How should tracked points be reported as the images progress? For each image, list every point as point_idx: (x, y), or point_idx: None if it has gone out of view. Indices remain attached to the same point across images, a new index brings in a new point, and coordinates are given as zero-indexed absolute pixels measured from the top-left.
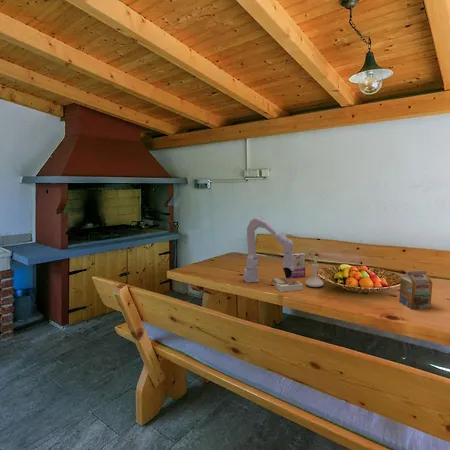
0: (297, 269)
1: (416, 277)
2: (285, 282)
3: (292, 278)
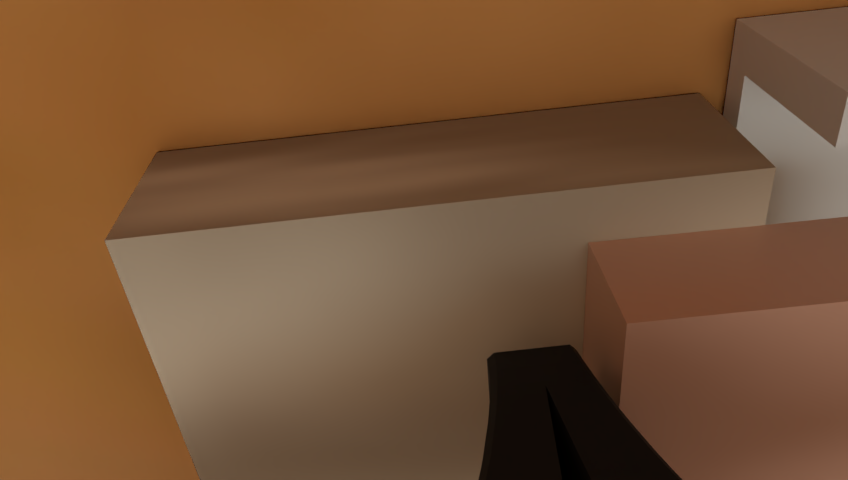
0: None
1: None
2: None
3: (789, 339)
